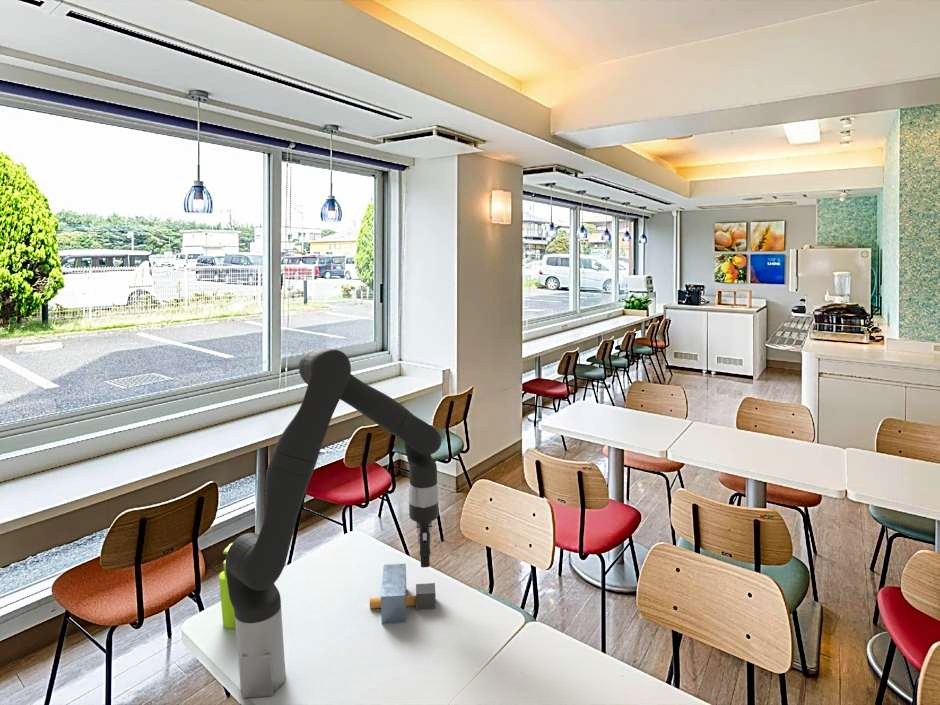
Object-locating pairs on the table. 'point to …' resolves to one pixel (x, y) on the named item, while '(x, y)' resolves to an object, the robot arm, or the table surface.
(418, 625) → the table surface
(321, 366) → the robot arm
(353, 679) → the table surface
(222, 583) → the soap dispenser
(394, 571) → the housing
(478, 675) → the table surface
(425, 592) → the hammer
